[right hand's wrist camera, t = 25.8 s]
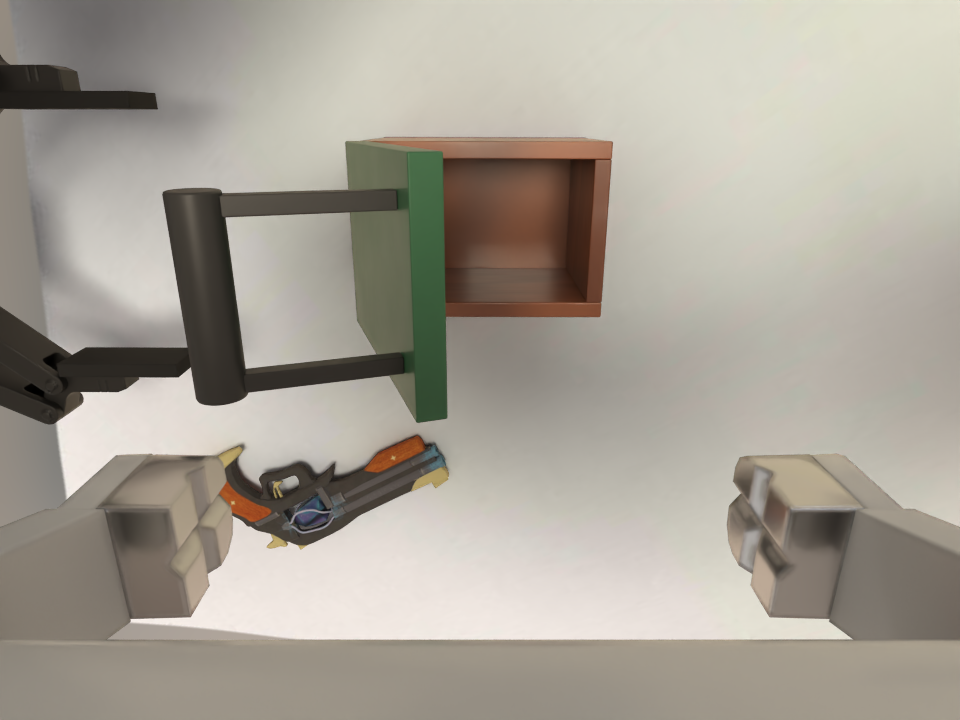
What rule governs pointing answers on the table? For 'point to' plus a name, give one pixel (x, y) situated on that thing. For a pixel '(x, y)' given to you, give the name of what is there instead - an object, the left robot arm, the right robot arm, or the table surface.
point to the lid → (377, 273)
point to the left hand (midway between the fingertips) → (168, 240)
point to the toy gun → (329, 492)
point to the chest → (522, 224)
